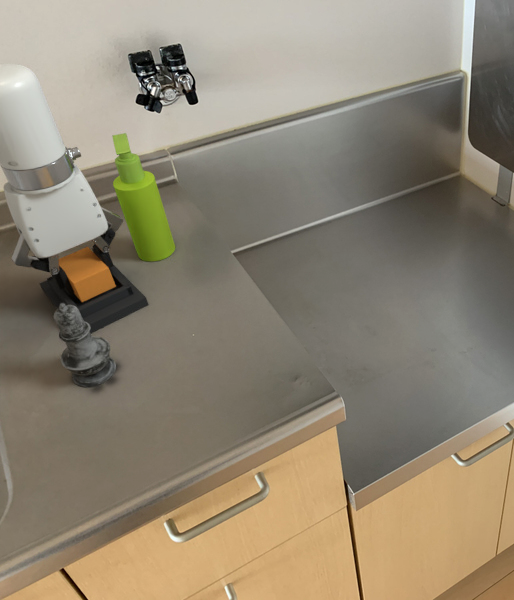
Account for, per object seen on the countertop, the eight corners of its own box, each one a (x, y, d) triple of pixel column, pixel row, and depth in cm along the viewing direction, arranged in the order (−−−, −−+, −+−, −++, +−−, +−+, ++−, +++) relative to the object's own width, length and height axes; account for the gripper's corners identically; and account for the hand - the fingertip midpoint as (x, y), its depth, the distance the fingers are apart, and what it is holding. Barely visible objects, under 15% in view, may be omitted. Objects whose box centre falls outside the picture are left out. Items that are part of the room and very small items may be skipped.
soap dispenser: (140, 269, 96) (99, 153, 83) (135, 245, 101) (96, 132, 87) (179, 259, 98) (144, 145, 84) (172, 236, 102) (138, 124, 89)
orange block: (82, 302, 86) (73, 283, 83) (62, 279, 89) (53, 260, 87) (116, 286, 88) (108, 267, 86) (95, 265, 92) (87, 246, 90)
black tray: (81, 338, 84) (73, 322, 82) (42, 290, 92) (35, 275, 90) (148, 304, 90) (143, 289, 88) (107, 262, 97) (101, 247, 95)
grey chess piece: (121, 352, 82) (92, 284, 74) (114, 385, 78) (81, 316, 70) (75, 358, 82) (41, 289, 74) (65, 391, 77) (27, 322, 69)
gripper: (93, 137, 83) (131, 245, 95) (-45, 182, 74) (17, 295, 86) (117, 156, 79) (154, 267, 91) (-25, 206, 70) (37, 321, 82)
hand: (87, 279), depth 88 cm, fingers closed on orange block, 5 cm apart
